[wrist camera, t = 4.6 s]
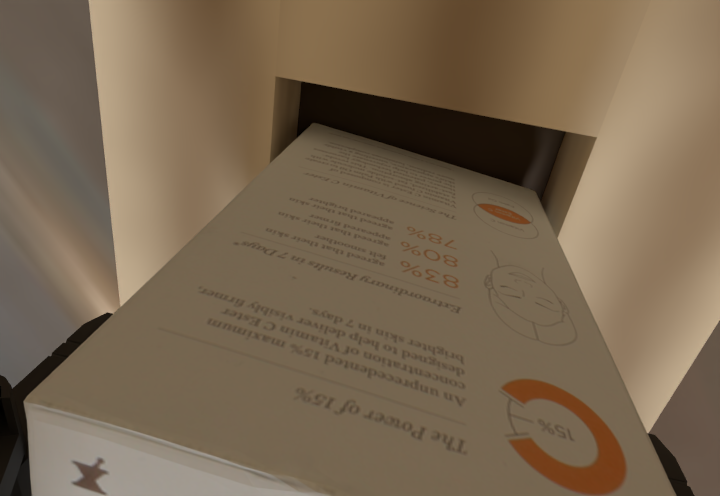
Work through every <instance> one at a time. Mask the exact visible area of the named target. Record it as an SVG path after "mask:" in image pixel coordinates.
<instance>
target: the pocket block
mask: <svg viewBox="0 0 720 496" xmlns="http://www.w3.org/2000/svg"><path fill="white" fill-rule="evenodd" d="M89 8H90V17H91V27H92V37H93V46H94V56H95V66H96V75H97V85H98V95H99V104H100V114H101V124H102V133H103V143H104V153H105V162H106V172H107V182H108V191H109V201H110V211H111V220H112V230H113V240H114V249H115V259H116V269H117V278H118V288H119V298H120V307H121V306H122V305H123V304H124V303H125V302H126V301H127V300H129V299H130V298H131V297H132V296H133V295H134V294H135V293H136V292H137V291H138V290H139V289H140V288H141V287H142V286H143V285H144V284H145V283H146V282H147V281H148V280H149V279H151V278H152V277H153V276H154V275H155V274H156V273H157V272H158V271H159V270H160V269H161V268H162V267H163V266H164V265H165V264H166V263H167V262H168V261H169V260H170V259H171V258H173V257H174V256H175V255H176V254H177V253H178V252H179V251H180V250H181V249H182V248H183V247H184V246H185V245H186V244H187V243H188V242H189V241H190V240H191V239H192V238H193V237H194V236H195V235H197V234H198V233H199V232H200V231H201V230H202V229H203V228H204V227H205V226H206V225H207V224H208V223H209V222H210V221H211V220H212V219H213V218H214V217H215V216H216V215H217V214H218V213H219V212H221V211H222V210H223V209H224V208H225V207H226V206H227V205H228V204H229V203H230V202H231V201H232V200H233V199H234V198H235V197H236V196H237V195H238V194H239V193H240V192H241V191H242V190H243V189H244V188H245V187H246V186H247V185H248V184H249V183H250V182H251V181H252V180H253V179H254V178H255V177H256V176H257V175H259V174H260V173H261V172H262V171H263V170H264V169H265V168H266V167H267V166H268V165H269V164H270V163H271V162H272V161H273V160H274V159H275V158H276V157H277V156H278V155H280V154H281V153H282V152H283V151H284V150H285V149H286V148H287V147H288V146H289V145H290V144H291V143H292V142H293V141H294V140H295V139H296V138H297V127H298V116H299V105H300V94H301V83H302V81H303V82H308V83H314V84H319V85H324V86H329V87H335V88H340V89H345V90H350V91H356V92H361V93H366V94H372V95H377V96H382V97H387V98H393V99H398V100H403V101H408V102H414V103H419V104H424V105H429V106H435V107H440V108H445V109H450V110H456V111H461V112H466V113H471V114H477V115H482V116H487V117H492V118H498V119H503V120H508V121H513V122H519V123H524V124H529V125H534V126H540V127H545V128H550V129H556V130H561V131H566V133H565V136H564V138H563V141H562V144H561V147H560V149H559V152H558V155H557V158H556V161H555V163H554V166H553V169H552V172H551V175H550V177H549V180H548V183H547V186H546V188H545V191H544V194H543V197H542V200H541V204H542V207H543V209H544V211H545V213H546V215H547V217H548V219H549V222H550V224H551V226H552V228H553V230H554V232H555V235H556V237H557V239H558V241H559V243H560V245H561V247H562V250H563V252H564V254H565V256H566V258H567V260H568V263H569V265H570V267H571V269H572V271H573V273H574V275H575V278H576V280H577V282H578V284H579V286H580V289H581V291H582V293H583V295H584V297H585V300H586V302H587V304H588V306H589V308H590V310H591V312H592V315H593V317H594V319H595V321H596V323H597V325H598V327H599V330H600V332H601V334H602V336H603V338H604V340H605V342H606V344H607V346H608V349H609V351H610V353H611V355H612V357H613V359H614V362H615V364H616V366H617V368H618V370H619V373H620V375H621V377H622V379H623V381H624V384H625V386H626V388H627V390H628V392H629V394H630V397H631V399H632V401H633V403H634V405H635V408H636V410H637V412H638V414H639V416H640V418H641V421H642V423H643V425H644V427H645V429H646V431H647V433H649V431H650V430H651V428H652V426H653V425H654V423H655V422H656V420H657V418H658V417H659V415H660V414H661V412H662V411H663V409H664V407H665V406H666V404H667V403H668V401H669V399H670V398H671V396H672V395H673V393H674V392H675V390H676V388H677V387H678V385H679V384H680V382H681V380H682V379H683V377H684V376H685V374H686V372H687V371H688V369H689V368H690V366H691V365H692V363H693V361H694V360H695V358H696V357H697V355H698V353H699V352H700V350H701V349H702V347H703V346H704V344H705V342H706V341H707V339H708V338H709V336H710V334H711V333H712V331H713V330H714V328H715V327H716V325H717V323H718V322H719V320H720V0H89Z"/></svg>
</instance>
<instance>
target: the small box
mask: <svg viewBox="0 0 720 496" xmlns="http://www.w3.org/2000/svg"><path fill="white" fill-rule="evenodd" d="M23 402H24V407H25V413H26V418H27V429H28V446H29V463H30V480H31V491H32V496H676V494H675V492H674V490H673V488H672V485H671V483H670V481H669V479H668V477H667V475H666V473H665V470H664V468H663V466H662V464H661V462H660V460H659V457H658V455H657V453H656V451H655V449H654V447H653V444H652V442H651V440H650V438H649V436H648V434H647V431H646V429H645V427H644V425H643V423H642V421H641V418H640V416H639V414H638V412H637V410H636V408H635V405H634V403H633V401H632V399H631V397H630V394H629V392H628V390H627V388H626V386H625V384H624V381H623V379H622V377H621V375H620V373H619V370H618V368H617V366H616V364H615V362H614V359H613V357H612V355H611V353H610V351H609V349H608V346H607V344H606V342H605V340H604V338H603V336H602V334H601V332H600V330H599V327H598V325H597V323H596V321H595V319H594V317H593V315H592V312H591V310H590V308H589V306H588V304H587V302H586V300H585V297H584V295H583V293H582V291H581V289H580V286H579V284H578V282H577V280H576V278H575V275H574V273H573V271H572V269H571V267H570V265H569V263H568V260H567V258H566V256H565V254H564V252H563V250H562V247H561V245H560V243H559V241H558V239H557V237H556V235H555V232H554V230H553V228H552V226H551V224H550V222H549V219H548V217H547V215H546V213H545V211H544V209H543V207H542V204H541V202H540V200H539V198H538V196H537V194H536V192H535V191H534V190H531V189H528V188H525V187H522V186H518V185H515V184H512V183H509V182H506V181H503V180H499V179H496V178H493V177H490V176H487V175H484V174H481V173H477V172H474V171H471V170H468V169H465V168H461V167H458V166H455V165H452V164H449V163H446V162H442V161H439V160H436V159H432V158H429V157H426V156H423V155H419V154H416V153H413V152H410V151H407V150H403V149H400V148H397V147H394V146H391V145H387V144H384V143H381V142H378V141H374V140H371V139H368V138H364V137H361V136H358V135H355V134H351V133H348V132H344V131H341V130H337V129H334V128H331V127H327V126H324V125H321V124H317V123H312V124H311V125H310V126H309V127H308V128H307V129H306V130H305V131H304V132H303V133H302V134H301V135H300V136H299V137H298V138H296V139H295V140H294V141H293V142H292V143H291V144H290V145H289V146H288V147H287V148H286V149H285V150H284V151H283V152H282V153H281V154H280V155H278V156H277V157H276V158H275V159H274V160H273V161H272V162H271V163H270V164H269V165H268V166H267V167H266V168H265V169H264V170H263V171H262V172H261V173H260V174H259V175H257V176H256V177H255V178H254V179H253V180H252V181H251V182H250V183H249V184H248V185H247V186H246V187H245V188H244V189H243V190H242V191H241V192H240V193H239V194H238V195H237V196H236V197H235V198H234V199H233V200H232V201H231V202H230V203H229V204H228V205H227V206H226V207H225V208H224V209H223V210H222V211H221V212H219V213H218V214H217V215H216V216H215V217H214V218H213V219H212V220H211V221H210V222H209V223H208V224H207V225H206V226H205V227H204V228H203V229H202V230H201V231H200V232H199V233H198V234H197V235H195V236H194V237H193V238H192V239H191V240H190V241H189V242H188V243H187V244H186V245H185V246H184V247H183V248H182V249H181V250H180V251H179V252H178V253H177V254H176V255H175V256H174V257H173V258H171V259H170V260H169V261H168V262H167V263H166V264H165V265H164V266H163V267H162V268H161V269H160V270H159V271H158V272H157V273H156V274H155V275H154V276H153V277H152V278H151V279H149V280H148V281H147V282H146V283H145V284H144V285H143V286H142V287H141V288H140V289H139V290H138V291H137V292H136V293H135V294H134V295H133V296H132V297H131V298H130V299H129V300H127V301H126V302H125V303H124V304H123V305H122V306H121V307H120V308H119V309H118V310H117V311H116V312H115V313H114V314H113V315H112V316H111V317H110V318H109V319H108V320H106V321H105V322H104V323H103V324H102V325H101V326H100V327H99V328H98V329H97V330H96V331H95V332H94V333H93V334H92V335H91V336H90V337H89V338H88V339H87V340H86V341H84V342H83V343H82V344H81V345H80V346H79V347H78V348H77V349H76V350H75V351H74V352H73V353H72V354H71V355H70V356H69V357H68V358H67V359H66V360H65V361H64V362H63V363H61V364H60V365H59V366H58V367H57V368H56V369H55V370H54V371H53V372H52V373H51V374H50V375H49V376H48V377H47V378H46V379H45V380H44V381H42V382H41V383H40V384H39V385H38V386H37V387H36V388H35V389H34V390H33V391H32V392H31V393H30V394H29V395H28V396H27V397H26V399H25V400H24V401H23Z"/></svg>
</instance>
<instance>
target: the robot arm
mask: <svg viewBox="0 0 720 496" xmlns="http://www.w3.org/2000/svg"><path fill="white" fill-rule="evenodd" d="M112 315H113V314H111V313H105V314H103V315H101V316H99V317H97V318H95V319H93V320H91V321H89V322H87V323H85V324H83V325H82V326H81V327H80V328H79V329H78V330H77V331H76V332H75V333H74V334H72V335H71V336H70V337H69V338H68V339H67V341H66V343H62V344H61V345H60V346H59V347H58V348H57V349H56V350H55V351H54V352H53V353H52V356H51V357H50V356H48V357H47V358H46V359H45V360H44V361H43V362H41V363H40V364H39V365H38V366H37V367H36V368H35V369H34V370H33V371H32V372H30V373H29V374H28V375H27V376H26V377H25V378H24V379H23V380H22V381H20V382H19V383H18V384H17V385H16V386H15V387H14V388H13V389H12V387H11V385H10V384H9V382H8V381H7V379H6V378H5V377H3V376H1V375H0V496H32V491H31V480H30V463H29V446H28V429H27V418H26V413H25V407H24V402H23V401H24V400H25V399H26V397H27V396H28V395H29V394H30V393H31V392H32V391H33V390H34V389H35V388H36V387H37V386H38V385H39V384H40V383H41V382H42V381H44V380H45V379H46V378H47V377H48V376H49V375H50V374H51V373H52V372H53V371H54V370H55V369H56V368H57V367H58V366H59V365H60V364H61V363H63V362H64V361H65V360H66V359H67V358H68V357H69V356H70V355H71V354H72V353H73V352H74V351H75V350H76V349H77V348H78V347H79V346H80V345H81V344H82V343H83V342H84V341H86V340H87V339H88V338H89V337H90V336H91V335H92V334H93V333H94V332H95V331H96V330H97V329H98V328H99V327H100V326H101V325H102V324H103V323H104V322H105V321H106V320H108V319H109V318H110V317H111V316H112ZM647 434H648V433H647ZM648 436H649V438H650V440H651V442H652V444H653V447H654V449H655V451H656V453H657V455H658V457H659V460H660V462H661V464H662V466H663V468H664V470H665V473H666V475H667V477H668V479H669V481H670V483H671V485H672V488H673V490H674V492H675V494H676V496H694V494H693V492H692V490H691V488H690V487H689V486H687V480H686V478H685V476H684V474H683V472H682V470H681V468H680V466H679V464H678V462H677V460H676V458H675V457H674V456H673V455H672V454H671V452H670V451H669V450H668V449H667V448H666V447H665V446H664V445H663V444H662V442H661V441H660V440H659V439H658V438H657V437H656V436H655V435H653V434H648Z"/></svg>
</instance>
